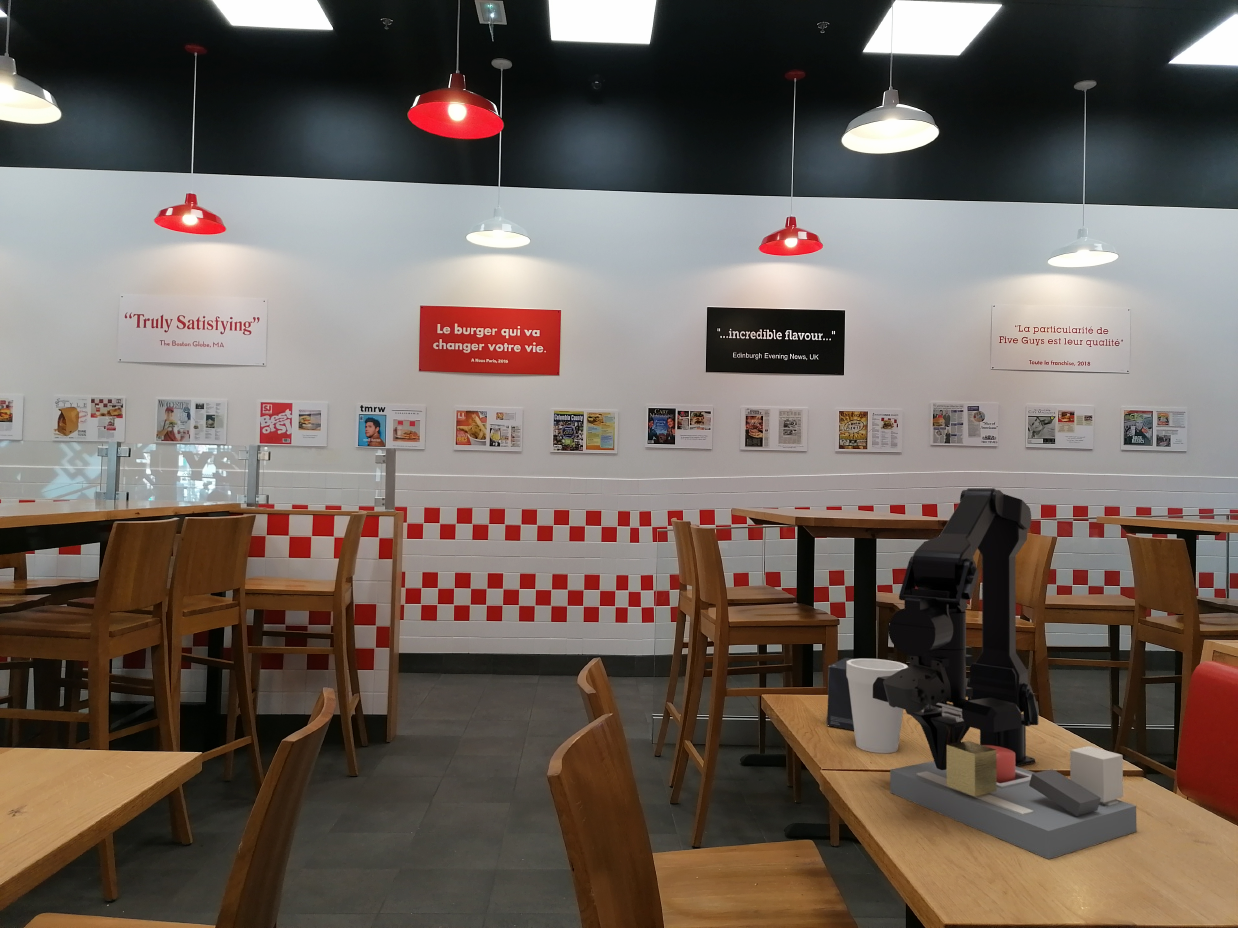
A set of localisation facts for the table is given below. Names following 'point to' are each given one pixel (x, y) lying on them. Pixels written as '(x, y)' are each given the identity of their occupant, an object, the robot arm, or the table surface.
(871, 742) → the foam cup
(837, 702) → the small box
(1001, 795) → the panel
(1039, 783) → the block
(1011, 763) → the red button
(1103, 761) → the ivory slider
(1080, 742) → the table surface
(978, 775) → the brass slider
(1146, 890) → the table surface
